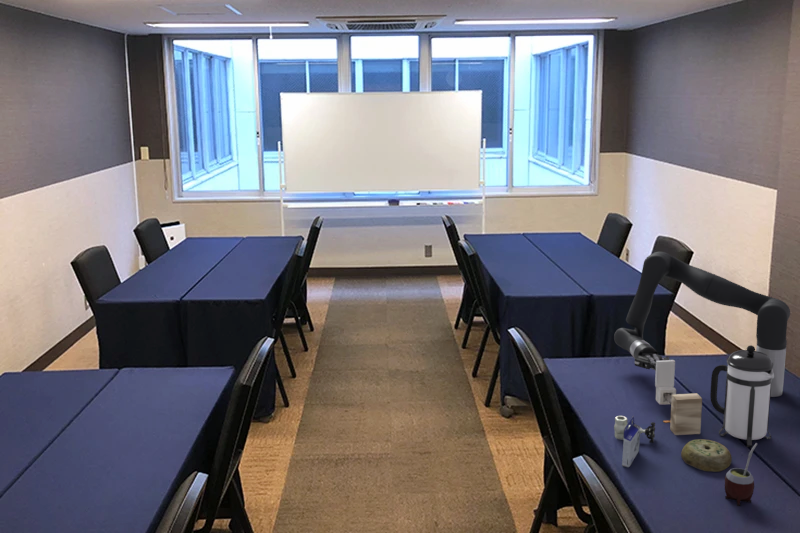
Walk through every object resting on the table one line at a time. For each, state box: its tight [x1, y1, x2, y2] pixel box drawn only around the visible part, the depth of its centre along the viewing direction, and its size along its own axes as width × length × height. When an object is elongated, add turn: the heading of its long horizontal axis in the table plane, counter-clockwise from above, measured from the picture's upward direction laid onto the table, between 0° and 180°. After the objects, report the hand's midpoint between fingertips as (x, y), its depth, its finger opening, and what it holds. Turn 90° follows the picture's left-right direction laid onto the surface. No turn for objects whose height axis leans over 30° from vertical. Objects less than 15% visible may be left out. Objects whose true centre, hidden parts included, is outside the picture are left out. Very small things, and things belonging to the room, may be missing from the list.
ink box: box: [621, 415, 641, 468], centre depth 215 cm, size 12×2×12 cm, turn 148°
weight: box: [680, 438, 733, 473], centre depth 213 cm, size 14×13×5 cm
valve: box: [613, 415, 656, 444], centre depth 228 cm, size 7×7×12 cm
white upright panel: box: [654, 359, 677, 406], centre depth 245 cm, size 4×6×14 cm, turn 92°
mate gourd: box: [724, 442, 758, 507], centre depth 191 cm, size 8×8×15 cm
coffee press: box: [709, 345, 774, 448], centre depth 224 cm, size 17×16×30 cm
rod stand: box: [662, 392, 703, 436], centre depth 239 cm, size 23×8×12 cm, turn 2°
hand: (661, 370), depth 249 cm, fingers closed
